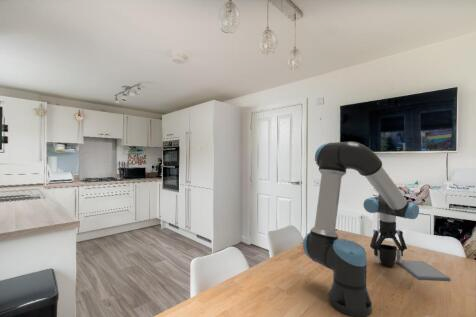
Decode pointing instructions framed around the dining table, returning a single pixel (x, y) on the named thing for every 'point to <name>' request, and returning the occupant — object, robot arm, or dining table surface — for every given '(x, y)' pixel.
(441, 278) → the slate board
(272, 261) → the dining table surface
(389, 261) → the mug
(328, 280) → the dining table surface
